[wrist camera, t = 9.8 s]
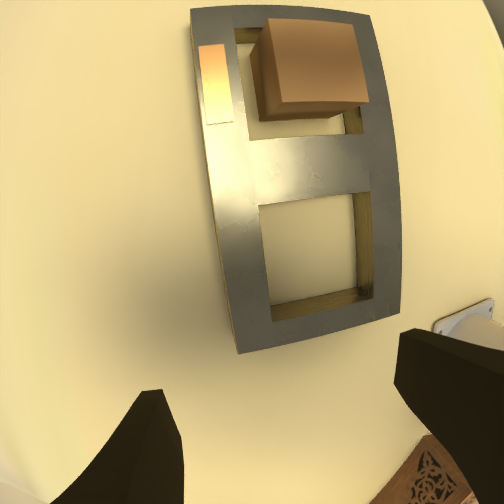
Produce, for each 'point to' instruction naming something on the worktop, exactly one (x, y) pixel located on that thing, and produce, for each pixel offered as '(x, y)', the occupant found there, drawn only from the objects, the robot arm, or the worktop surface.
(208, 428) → the worktop surface
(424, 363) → the robot arm
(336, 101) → the square peg
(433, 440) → the tissue box cover
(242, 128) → the socket plate
